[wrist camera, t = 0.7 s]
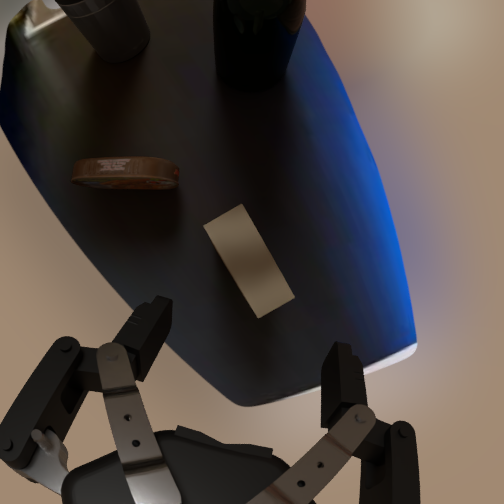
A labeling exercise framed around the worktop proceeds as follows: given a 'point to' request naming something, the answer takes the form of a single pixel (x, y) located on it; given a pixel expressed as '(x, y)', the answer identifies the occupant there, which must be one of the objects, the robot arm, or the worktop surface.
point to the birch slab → (248, 261)
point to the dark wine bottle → (255, 40)
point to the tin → (126, 173)
